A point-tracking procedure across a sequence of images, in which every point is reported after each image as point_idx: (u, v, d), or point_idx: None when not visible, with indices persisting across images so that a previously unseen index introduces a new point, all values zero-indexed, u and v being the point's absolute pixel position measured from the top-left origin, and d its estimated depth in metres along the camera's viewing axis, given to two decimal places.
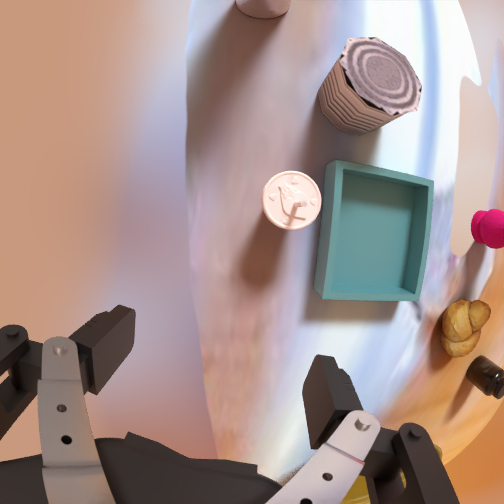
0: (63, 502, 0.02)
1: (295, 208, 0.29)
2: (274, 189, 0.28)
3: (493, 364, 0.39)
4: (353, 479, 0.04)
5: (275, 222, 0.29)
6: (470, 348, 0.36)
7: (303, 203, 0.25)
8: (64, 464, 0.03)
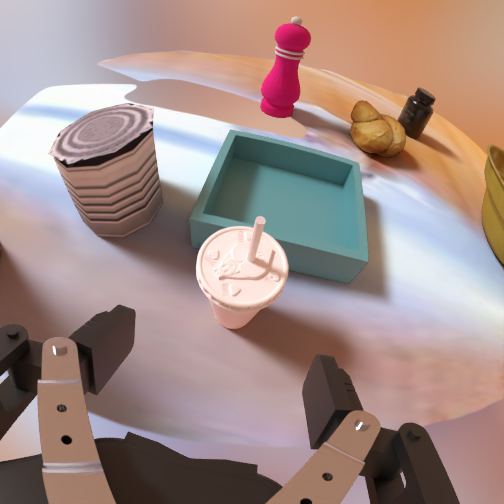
0: (63, 502, 0.02)
1: (256, 260, 0.19)
2: (222, 286, 0.18)
3: (404, 108, 0.51)
4: (353, 479, 0.04)
5: (275, 292, 0.18)
6: (397, 122, 0.42)
7: (258, 221, 0.15)
8: (64, 464, 0.03)
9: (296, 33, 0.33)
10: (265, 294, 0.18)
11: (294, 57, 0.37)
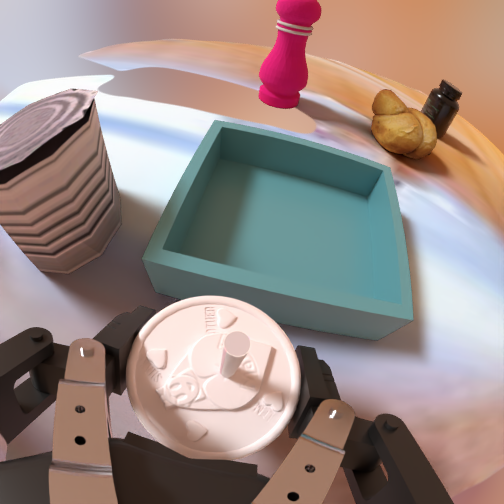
0: (63, 502, 0.02)
1: (239, 373, 0.09)
2: (173, 423, 0.08)
3: (427, 102, 0.41)
4: (336, 469, 0.04)
5: (274, 434, 0.08)
6: (427, 117, 0.32)
7: (232, 346, 0.05)
8: (73, 463, 0.03)
9: (303, 3, 0.23)
10: (255, 438, 0.08)
11: (301, 32, 0.27)
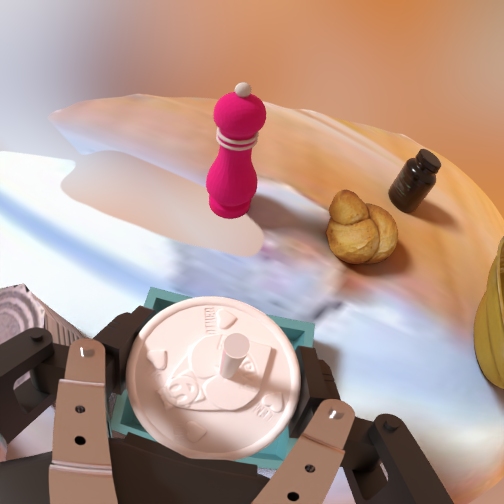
0: (63, 502, 0.02)
1: (238, 374, 0.09)
2: (173, 424, 0.08)
3: (400, 176, 0.45)
4: (336, 469, 0.04)
5: (274, 434, 0.08)
6: (389, 220, 0.36)
7: (232, 347, 0.05)
8: (73, 463, 0.03)
9: (240, 116, 0.26)
10: (254, 438, 0.08)
11: (241, 148, 0.31)
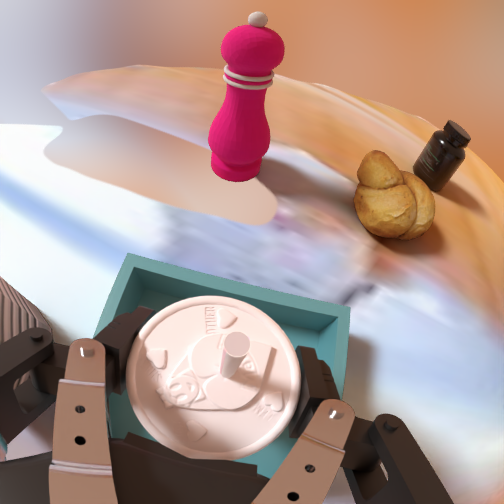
0: (63, 502, 0.02)
1: (239, 373, 0.09)
2: (173, 423, 0.08)
3: (427, 149, 0.37)
4: (336, 468, 0.04)
5: (274, 434, 0.08)
6: (426, 188, 0.28)
7: (232, 346, 0.05)
8: (73, 463, 0.03)
9: (255, 43, 0.18)
10: (255, 438, 0.08)
11: (254, 86, 0.23)
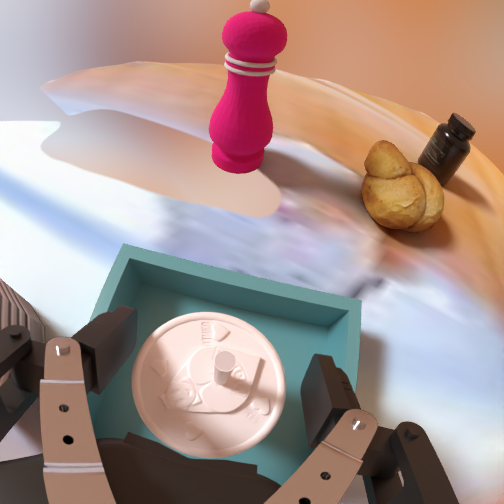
0: (63, 502, 0.02)
1: (231, 381, 0.10)
2: (173, 424, 0.09)
3: (431, 142, 0.35)
4: (351, 478, 0.04)
5: (262, 434, 0.09)
6: (434, 179, 0.27)
7: (221, 362, 0.07)
8: (65, 464, 0.03)
9: (257, 28, 0.17)
10: (244, 438, 0.09)
11: (256, 72, 0.21)
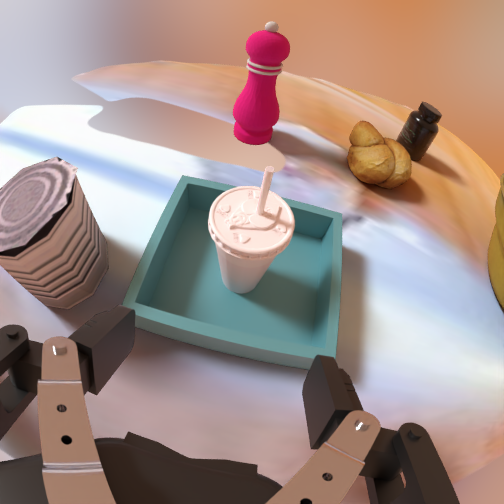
0: (63, 502, 0.02)
1: (265, 213, 0.20)
2: (233, 235, 0.19)
3: (405, 126, 0.45)
4: (353, 479, 0.04)
5: (283, 241, 0.19)
6: (402, 148, 0.37)
7: (268, 170, 0.17)
8: (64, 464, 0.03)
9: (270, 43, 0.27)
10: (273, 243, 0.19)
11: (269, 72, 0.31)
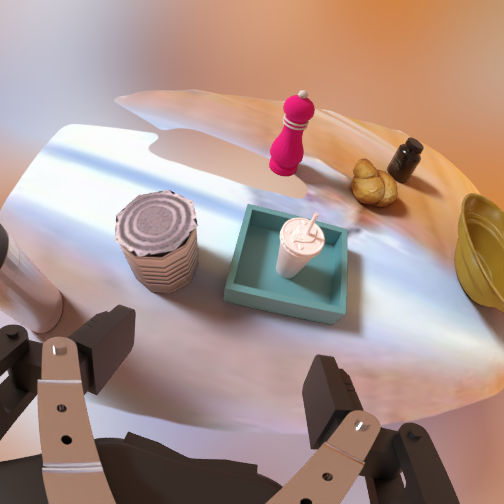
0: (63, 502, 0.02)
1: (310, 234, 0.38)
2: (295, 245, 0.37)
3: (395, 156, 0.63)
4: (353, 479, 0.04)
5: (319, 249, 0.37)
6: (391, 179, 0.55)
7: (315, 214, 0.35)
8: (64, 464, 0.03)
9: (302, 109, 0.45)
10: (315, 249, 0.37)
11: (299, 128, 0.49)
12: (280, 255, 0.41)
